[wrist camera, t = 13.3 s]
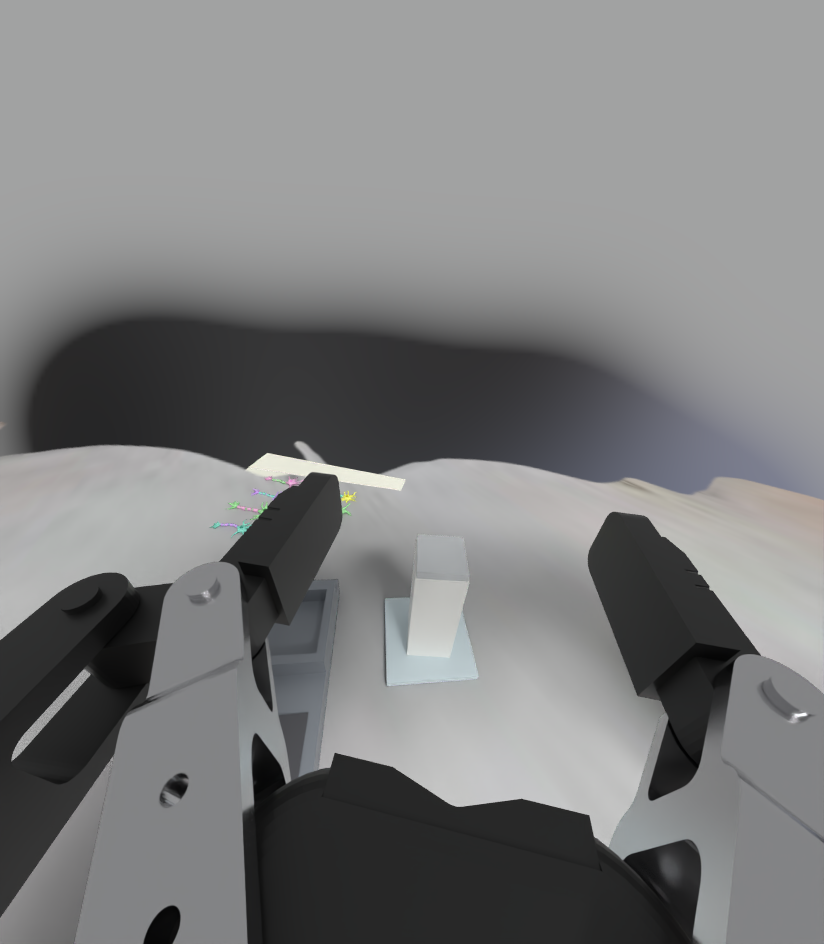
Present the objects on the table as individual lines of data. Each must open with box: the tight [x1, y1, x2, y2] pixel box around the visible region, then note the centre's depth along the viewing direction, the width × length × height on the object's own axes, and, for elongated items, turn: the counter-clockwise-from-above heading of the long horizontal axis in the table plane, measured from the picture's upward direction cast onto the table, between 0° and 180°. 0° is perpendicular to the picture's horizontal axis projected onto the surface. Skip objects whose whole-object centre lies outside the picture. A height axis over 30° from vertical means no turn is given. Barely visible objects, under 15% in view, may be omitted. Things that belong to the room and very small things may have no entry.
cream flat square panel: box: [210, 453, 405, 536], centre depth 48 cm, size 30×30×2 cm
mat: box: [385, 597, 479, 686], centre depth 33 cm, size 9×9×1 cm
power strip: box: [268, 579, 339, 781], centre depth 23 cm, size 8×30×4 cm, turn 6°
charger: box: [407, 534, 470, 658], centre depth 29 cm, size 4×4×13 cm
